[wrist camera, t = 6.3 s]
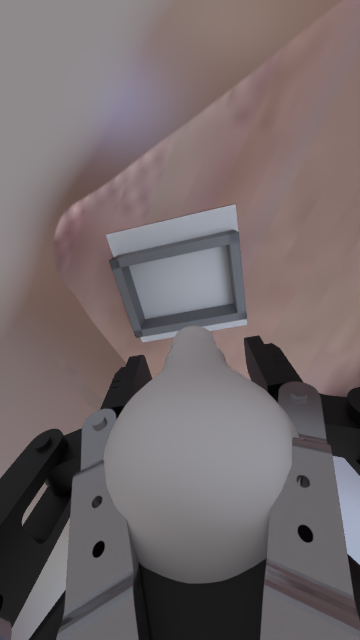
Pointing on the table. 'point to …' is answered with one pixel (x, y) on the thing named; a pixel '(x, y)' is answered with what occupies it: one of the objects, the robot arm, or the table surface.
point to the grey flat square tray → (181, 274)
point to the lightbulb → (199, 465)
